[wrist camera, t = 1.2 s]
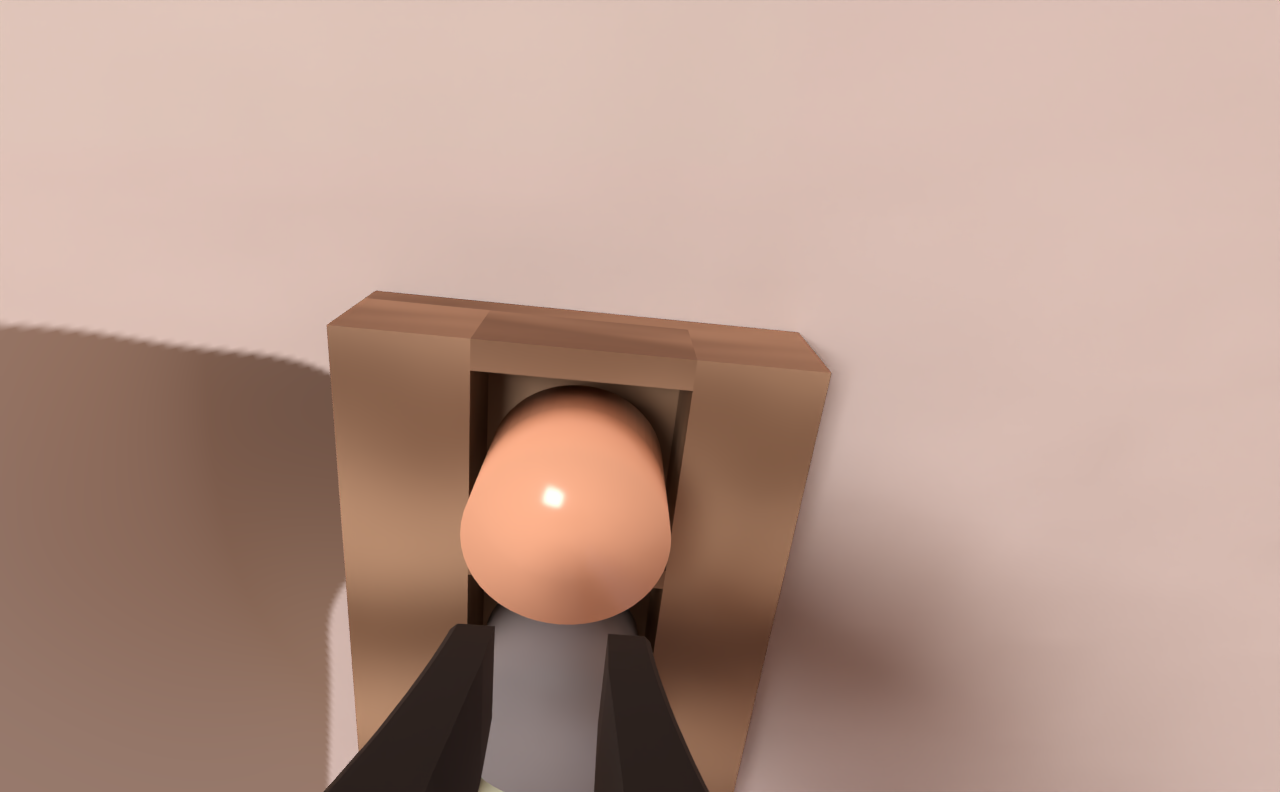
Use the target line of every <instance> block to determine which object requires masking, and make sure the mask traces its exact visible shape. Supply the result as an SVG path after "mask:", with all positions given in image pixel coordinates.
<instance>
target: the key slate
mask: <svg viewBox="0 0 1280 792" xmlns="http://www.w3.org/2000/svg"><path fill="white" fill-rule="evenodd" d="M487 626H495V640H494V672H493V704H492V721H491V727H490V732H489V738H488V744H487V749H486V755H485V760H484V766H483V771H482V776H481V778H482V779H483V780H485V781H486V782H488V783H489V784H491V785H492V786H494V787H496V788H497V789H499V790H501V791H503V792H594V782H595V763H596V746H597V728H598V717H599V709H600V700H601V691H602V682H603V674H604V665H605V656H606V648H607V639H608V634H619V635H634V636H638V629H637V625H636V622H635V619H634V617H633V615H632V613H631V612H630V610H629V609H627V610H625V611H623V612H622V613H619V614H617V615H615V616H612V617H610V618H607V619H603V620H600V621H596V622H591V623H586V624H575V625H563V624H552V623H545V622H541V621H536V620H533V619H530V618H527V617H524V616H521V615H519V614H517V613H515V612H513V611H510V610H509V609H507V608H506V607H504V606H502V605H501V604H499V603H498V604H497V605H496V606H495V608H494V609H493V611H492V612H491V615H490V617H489V619H488V622H487Z"/></svg>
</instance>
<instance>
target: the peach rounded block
mask: <svg viewBox="0 0 1280 792" xmlns="http://www.w3.org/2000/svg"><path fill="white" fill-rule="evenodd" d="M460 540H461V548H462V552H463V557H464V559H465V562H466V564H467V567H468V569H469V570H470V572H471V574H472V576H473V577H474V579H475V580H476V581H477V583H478V584H479V585H480V587H481V588H482V589H483V590H484V591H485V592H486V593H487V594H488V595H489V596H490V597H491V598H493V599H494V600H495V601H497V602H498V603H499V604H501V605H502V606H504V607H506V608H507V609H509V610H510V611H513V612H515V613H517V614H519V615H521V616H524V617H527V618H530V619H533V620H536V621H541V622H545V623H552V624H563V625H575V624H586V623H591V622H596V621H600V620H603V619H607V618H610V617H612V616H615V615H617V614H619V613H622V612H623V611H625V610H627V609H629V608H630V607H632V606H633V605H635V604H636V603H637V602H639V601H640V600H641V599H643V598H644V597H645V596H646V595H647V594H648V593H649V592H650V591H651V589H652V588H653V587H654V586H655V584H656V583H657V582H658V580H659V578H660V577H661V575H662V573H663V572H664V569H665V567H666V564H667V562H668V558H669V553H670V548H671V530H670V521H669V512H668V503H667V495H666V486H665V477H664V469H663V460H662V452H661V448H660V443H659V440H658V438H657V435H656V433H655V431H654V429H653V428H652V426H651V424H650V423H649V421H648V420H647V419H646V417H645V416H644V415H643V414H642V413H641V412H640V411H639V410H638V409H637V408H636V407H635V406H633V405H632V404H631V403H629V402H628V401H627V400H625V399H623V398H622V397H620V396H618V395H616V394H614V393H611V392H609V391H607V390H603V389H600V388H596V387H591V386H584V385H565V386H557V387H553V388H548V389H545V390H542V391H539V392H537V393H535V394H533V395H531V396H529V397H527V398H525V399H524V400H522V401H521V402H520V403H518V404H517V405H516V406H515V407H514V408H512V409H511V410H510V411H509V412H508V414H507V415H506V416H505V417H504V418H503V420H502V421H501V423H500V425H499V426H498V428H497V430H496V433H495V435H494V437H493V440H492V442H491V445H490V447H489V450H488V452H487V455H486V457H485V460H484V462H483V464H482V467H481V469H480V472H479V474H478V477H477V479H476V482H475V484H474V487H473V489H472V492H471V494H470V497H469V499H468V502H467V504H466V507H465V509H464V512H463V516H462V520H461V528H460Z"/></svg>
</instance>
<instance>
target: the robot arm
mask: <svg viewBox="0 0 1280 792" xmlns="http://www.w3.org/2000/svg"><path fill="white" fill-rule="evenodd" d="M494 640H495V626H486V625H472V624H456V625H455V626H453V627H452V628H451V629H450V630H449V632H448V634H447V635H446V637H445V638H444V640H443V642H442V643H441V645H440V646H439V648H438V649H437V651H436V652H435V654H434V655H433V657H432V658H431V660H430V661H429V663H428V664H427V665H426V667H425V668H424V670H423V671H422V672H421V674H420V675H419V677H418V678H417V679H416V681H415V682H414V683H413V685H412V686H411V688H410V689H409V690H408V692H407V693H406V694H405V695H404V697H403V698H402V699H401V701H400V702H399V703H398V704H397V706H396V707H395V708H394V710H393V711H392V712H391V713H390V715H389V716H388V717H387V718H386V720H385V721H384V722H383V724H382V725H381V726H380V727H379V729H378V730H377V731H376V732H375V733H374V735H373V736H372V737H371V738H370V739H369V741H368V742H367V743H366V744H365V745H364V746H363V748H362V749H361V750H360V751H359V752H358V753H357V754H356V756H355V757H354V758H353V759H352V760H351V761H350V762H349V764H348V765H347V766H346V767H345V768H344V769H343V771H342V772H341V773H340V774H339V775H338V776H337V777H336V779H335V780H334V781H333V782H332V783H331V784H330V785H329V786H328V787H327V788H326V790H325V791H324V792H478V789H479V786H480V782H481V776H482V771H483V766H484V760H485V755H486V749H487V744H488V738H489V732H490V727H491V721H492V704H493V672H494ZM594 792H709V790H708V788H707V786H706V784H705V782H704V780H703V778H702V776H701V774H700V772H699V770H698V768H697V766H696V764H695V762H694V760H693V757H692V755H691V753H690V751H689V748H688V746H687V744H686V742H685V739H684V737H683V735H682V732H681V730H680V728H679V726H678V723H677V721H676V719H675V716H674V714H673V711H672V709H671V706H670V703H669V701H668V698H667V695H666V693H665V690H664V687H663V684H662V682H661V679H660V676H659V673H658V669H657V666H656V663H655V659H654V656H653V652H652V648H651V643H650V641H649V640H648V639H647V638H646V637H645V636H634V635H619V634H608V639H607V648H606V656H605V665H604V674H603V682H602V691H601V700H600V709H599V717H598V728H597V746H596V763H595V782H594Z"/></svg>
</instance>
